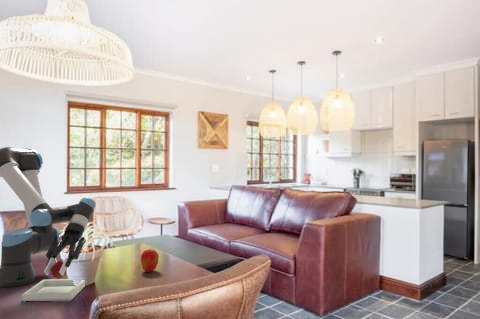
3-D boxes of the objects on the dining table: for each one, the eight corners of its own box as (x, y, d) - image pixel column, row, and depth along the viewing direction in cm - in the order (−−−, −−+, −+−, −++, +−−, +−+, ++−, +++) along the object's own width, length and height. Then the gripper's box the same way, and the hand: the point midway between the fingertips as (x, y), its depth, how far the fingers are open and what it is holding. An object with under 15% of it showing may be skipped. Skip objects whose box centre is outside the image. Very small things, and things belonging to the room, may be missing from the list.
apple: (153, 274, 166) (154, 250, 167) (136, 273, 168) (137, 249, 168) (161, 269, 175) (161, 246, 176) (145, 268, 177) (146, 245, 178)
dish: (21, 302, 129) (21, 294, 129) (43, 286, 147) (43, 279, 147) (70, 301, 131) (70, 293, 131) (85, 285, 149) (86, 278, 149)
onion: (69, 276, 142) (69, 257, 142) (62, 281, 136) (63, 261, 136) (55, 276, 142) (55, 257, 142) (47, 281, 136) (48, 261, 136)
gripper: (98, 232, 154) (79, 278, 137) (60, 231, 155) (35, 277, 138) (93, 222, 149) (72, 269, 132) (53, 221, 150) (27, 268, 133)
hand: (53, 273), depth 135 cm, fingers closed on onion, 6 cm apart
